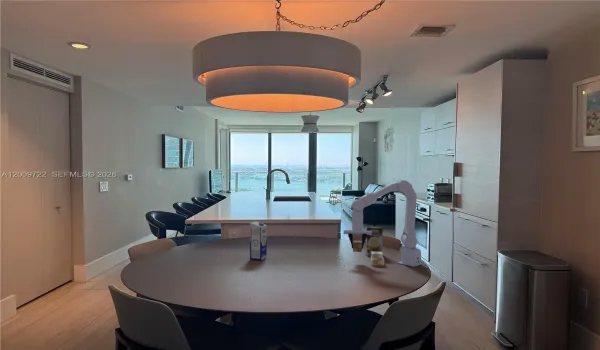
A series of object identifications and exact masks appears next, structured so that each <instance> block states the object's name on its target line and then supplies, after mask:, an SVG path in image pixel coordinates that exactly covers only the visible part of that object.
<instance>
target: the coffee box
mask: <svg viewBox="0 0 600 350" xmlns="http://www.w3.org/2000/svg"><path fill="white" fill-rule="evenodd" d="M365 226H366V225H365ZM365 230H366V231H372V235H367V238H366V240H365V246H364V247H365V256H367V257H368V256H369V257H371V251H373V252H382V253H383V235H384V234H383V232H384V230H383V227H382V226H372V225H371V226H370V225H369V226H368V225H367V226H366V227H365Z"/></svg>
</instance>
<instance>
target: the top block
mask: <svg viewBox="0 0 600 350" xmlns="http://www.w3.org/2000/svg"><path fill="white" fill-rule="evenodd" d="M383 255H384V254H383V251H382V252H373V251H371V256H370V259H371V258H372V260H383V258H384V257H383Z"/></svg>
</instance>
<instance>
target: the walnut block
mask: <svg viewBox="0 0 600 350" xmlns="http://www.w3.org/2000/svg"><path fill="white" fill-rule="evenodd" d="M362 251H363V249H362V240H353V248H352V252H353V253H362Z"/></svg>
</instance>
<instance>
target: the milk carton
mask: <svg viewBox="0 0 600 350" xmlns="http://www.w3.org/2000/svg"><path fill="white" fill-rule="evenodd" d="M267 228H268V225H267V224H265V223H264V222H262V221H252V222H250V223H249V261H258V262H259V261H260V262H262V261H264V260H265V259H267V258H268V257H267V255H268V254H267V252H268V251H267V246H268V245H267V244H268V242H267V240H268V238H267V237H268V235H267V233H268V232H267V230H268V229H267Z"/></svg>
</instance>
